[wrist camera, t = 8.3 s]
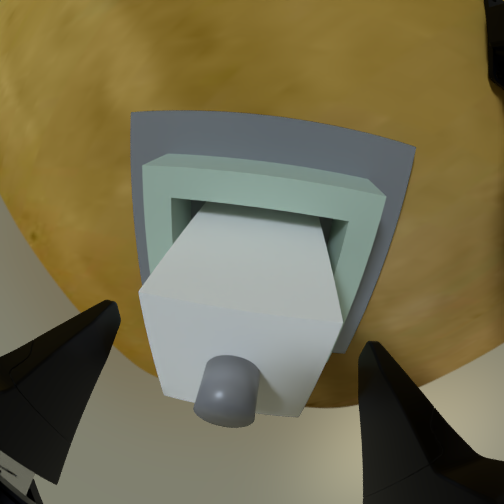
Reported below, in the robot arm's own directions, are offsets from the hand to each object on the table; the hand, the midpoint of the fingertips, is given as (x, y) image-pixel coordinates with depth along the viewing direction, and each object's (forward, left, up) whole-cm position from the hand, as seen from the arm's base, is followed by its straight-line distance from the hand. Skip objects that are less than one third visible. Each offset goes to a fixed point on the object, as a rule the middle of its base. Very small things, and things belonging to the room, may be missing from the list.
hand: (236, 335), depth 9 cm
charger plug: (0, 0, -5) cm, 5 cm away
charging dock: (0, 0, -6) cm, 6 cm away
